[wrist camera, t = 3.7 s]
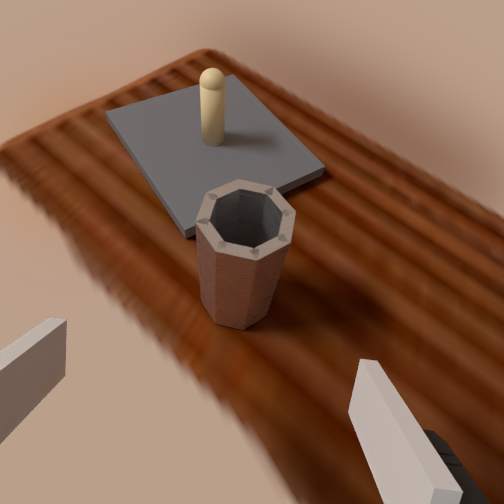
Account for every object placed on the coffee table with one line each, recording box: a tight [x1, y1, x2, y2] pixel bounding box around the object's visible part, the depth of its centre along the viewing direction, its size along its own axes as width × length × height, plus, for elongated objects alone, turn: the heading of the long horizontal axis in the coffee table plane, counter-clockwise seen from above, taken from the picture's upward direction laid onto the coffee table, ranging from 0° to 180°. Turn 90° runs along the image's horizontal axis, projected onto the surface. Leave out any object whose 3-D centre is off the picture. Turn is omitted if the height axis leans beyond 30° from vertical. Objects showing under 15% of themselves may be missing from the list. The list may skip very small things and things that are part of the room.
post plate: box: [105, 68, 325, 238], centre depth 38 cm, size 20×18×10 cm
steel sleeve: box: [195, 179, 296, 330], centre depth 27 cm, size 6×6×12 cm
